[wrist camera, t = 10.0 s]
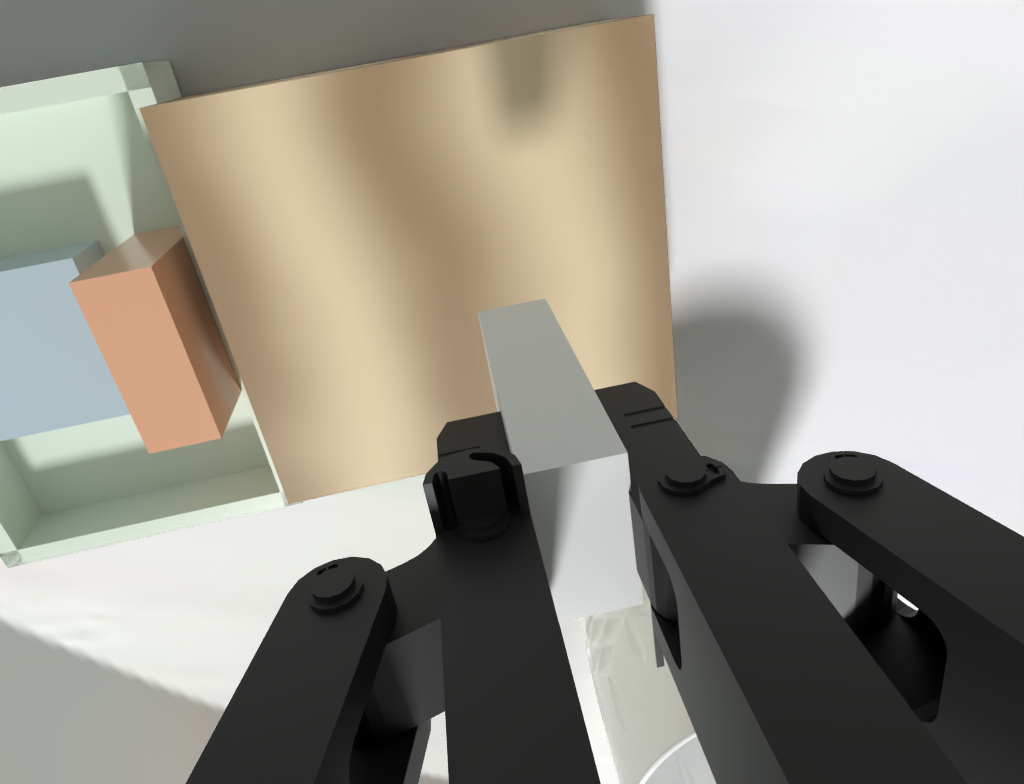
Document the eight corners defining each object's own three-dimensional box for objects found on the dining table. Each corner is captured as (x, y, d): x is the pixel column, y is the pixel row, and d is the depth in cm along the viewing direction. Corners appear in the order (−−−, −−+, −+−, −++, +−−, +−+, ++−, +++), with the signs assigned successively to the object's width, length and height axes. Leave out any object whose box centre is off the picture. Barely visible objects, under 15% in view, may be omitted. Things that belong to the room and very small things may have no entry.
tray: (168, 60, 20) (141, 61, 18) (310, 464, 27) (302, 502, 24) (-194, 125, 20) (-269, 135, 17) (40, 523, 26) (7, 567, 24)
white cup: (530, 575, 31) (587, 790, 22) (689, 483, 30) (815, 669, 21) (611, 675, 34) (688, 895, 25) (754, 596, 33) (886, 795, 25)
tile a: (150, 266, 17) (68, 282, 17) (221, 438, 20) (149, 453, 20) (199, 221, 22) (134, 234, 22) (252, 365, 24) (193, 378, 24)
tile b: (-112, 293, 20) (-71, 272, 21) (-22, 445, 22) (9, 415, 24) (72, 258, 20) (98, 240, 22) (142, 411, 22) (160, 384, 24)
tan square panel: (610, 19, 22) (653, 14, 18) (639, 369, 27) (677, 417, 24) (181, 97, 21) (139, 108, 17) (302, 442, 26) (288, 504, 23)
